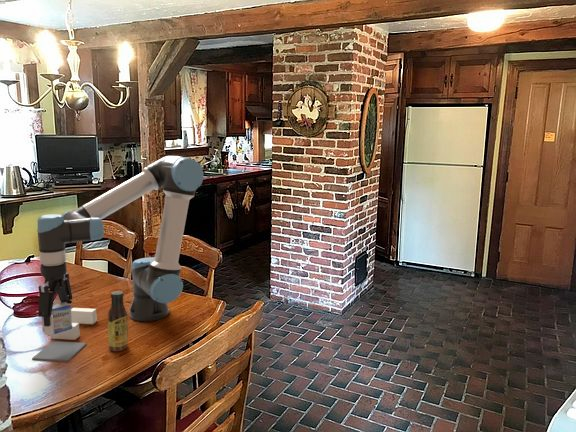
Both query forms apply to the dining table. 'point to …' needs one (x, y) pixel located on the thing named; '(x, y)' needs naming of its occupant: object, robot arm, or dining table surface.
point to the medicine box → (61, 317)
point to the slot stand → (77, 323)
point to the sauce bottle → (117, 323)
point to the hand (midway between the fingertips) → (57, 328)
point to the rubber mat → (59, 351)
